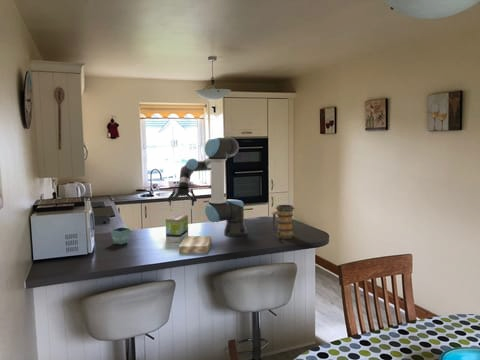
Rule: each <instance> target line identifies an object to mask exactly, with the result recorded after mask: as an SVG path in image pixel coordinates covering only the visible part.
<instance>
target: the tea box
mask: <svg viewBox="0 0 480 360" xmlns="http://www.w3.org/2000/svg"><path fill="white" fill-rule="evenodd" d="M186 236H189V216H188V215H187V214H173V215H171V216H170V217H167V218H165V241H166V242H167V243H182V241H183V240H184V238H185V237H186Z"/></svg>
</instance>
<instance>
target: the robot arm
mask: <svg viewBox="0 0 480 360" xmlns="http://www.w3.org/2000/svg"><path fill="white" fill-rule="evenodd" d="M239 148H240V146H239V142H238V140H236V139H234V138H233V137H211V138H209V139H207V141H206V142H205V145H204V153H205V155H206V157H207V158H205V159H204V160H197V159H196V158H193V157H191V158H189V159H188V160H187V161H186V163H185V164H184V165H183V166H182V167H181V168H180V175H179V181H178V188H177V189H175V188H174V189H173V190H172V192H171V194H170V195H169V196H168V197H167V202H168V203H169V204H168V205H169V207H170V209H169V210H170V211H173V205H174V203H173V202H174V201H175V200H176V199H178V198H179V197H185V196H186V197H187V198H188V199H189V200H190V204H189V210H190V211H192V209H193V206H194V205H195V202H198V199H197V196H196V195H195V192H194V189H193V188H191V189H190V182H191V175H192V174H193V173H194V172H205V171H210V173H211V174H210V194H211V195H210V199H209V200H208V204H207V205H206V206H205V209H204V210H205V212H204V213H205V216H206V218H207V220H208V221H209V222H211V223H219V222H223V221H226V224H225V226H224V227H225V228H224V230H223V233H224V235H225V236H228V237H242V236H245V235H247V233H248V231H247V226H246V225H245V220H244V219H245V217H244V216H245V215H244V214H245V213H244V211H245V210H244V208H245V207H244V202H243V201H242V200H239V199H229V198H228V199H226V198H225V173H226V172H225V167H226V166H225V162H226V161H227V160H228V158H232V157H234V156H235V155H236V154H237V153H238V152H239ZM189 193H190V194H189Z"/></svg>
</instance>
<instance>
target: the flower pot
mask: <svg viewBox="0 0 480 360" xmlns="http://www.w3.org/2000/svg"><path fill="white" fill-rule="evenodd" d="M110 234H111V238H112V241H113V243H114V244H115V245H116V244H117V245H124V244H127V243H128V241H129V240H130V236H131V228H127V227H122V226H121V227H116V228H114V229H111V230H110Z"/></svg>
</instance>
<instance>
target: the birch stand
mask: <svg viewBox="0 0 480 360" xmlns="http://www.w3.org/2000/svg"><path fill="white" fill-rule="evenodd" d="M212 238H213V237H212V235H191V236H190V235H188V236H186V237H185V238H184V240H182V241H181V242H180V244H179V246H178V251H179V252H178V253H179V254H208V252H209V249H210V247H211V245H212V243H213V242H212V240H213V239H212Z"/></svg>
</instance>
